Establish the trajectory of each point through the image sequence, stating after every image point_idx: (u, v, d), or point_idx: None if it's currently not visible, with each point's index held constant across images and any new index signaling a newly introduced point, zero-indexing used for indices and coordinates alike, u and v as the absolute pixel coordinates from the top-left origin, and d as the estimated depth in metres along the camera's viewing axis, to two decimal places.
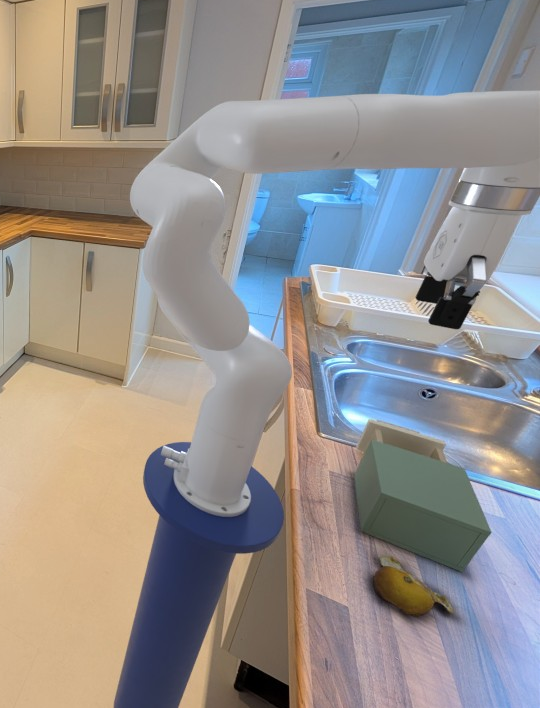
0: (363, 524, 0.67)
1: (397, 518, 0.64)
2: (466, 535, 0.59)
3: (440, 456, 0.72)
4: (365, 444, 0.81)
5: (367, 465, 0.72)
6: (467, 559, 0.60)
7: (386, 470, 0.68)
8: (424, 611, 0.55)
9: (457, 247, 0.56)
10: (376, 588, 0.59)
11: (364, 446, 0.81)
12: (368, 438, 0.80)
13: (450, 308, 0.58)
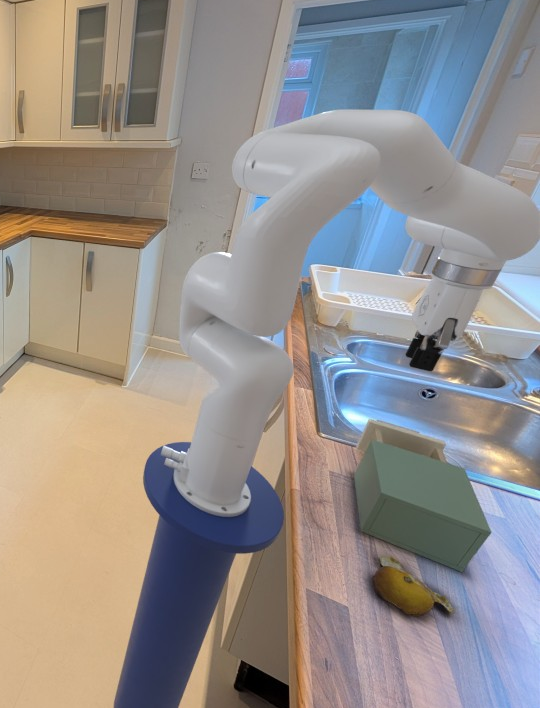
0: (363, 524, 0.67)
1: (397, 518, 0.64)
2: (466, 535, 0.59)
3: (440, 456, 0.72)
4: (365, 444, 0.81)
5: (367, 465, 0.72)
6: (467, 559, 0.60)
7: (386, 470, 0.68)
8: (424, 611, 0.55)
9: (436, 311, 0.72)
10: (376, 588, 0.59)
11: (364, 446, 0.81)
12: (368, 438, 0.80)
13: (425, 356, 0.77)
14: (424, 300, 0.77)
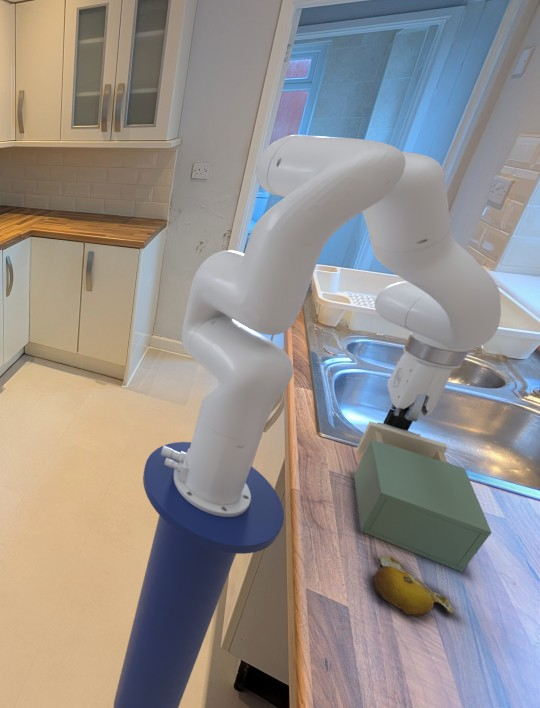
0: (363, 524, 0.67)
1: (397, 518, 0.64)
2: (466, 535, 0.59)
3: (441, 459, 0.71)
4: (365, 447, 0.80)
5: (367, 465, 0.72)
6: (467, 559, 0.60)
7: (386, 470, 0.68)
8: (424, 611, 0.55)
9: (408, 387, 0.75)
10: (376, 588, 0.59)
11: (364, 449, 0.80)
12: (369, 441, 0.79)
13: (397, 421, 0.81)
14: (398, 371, 0.80)
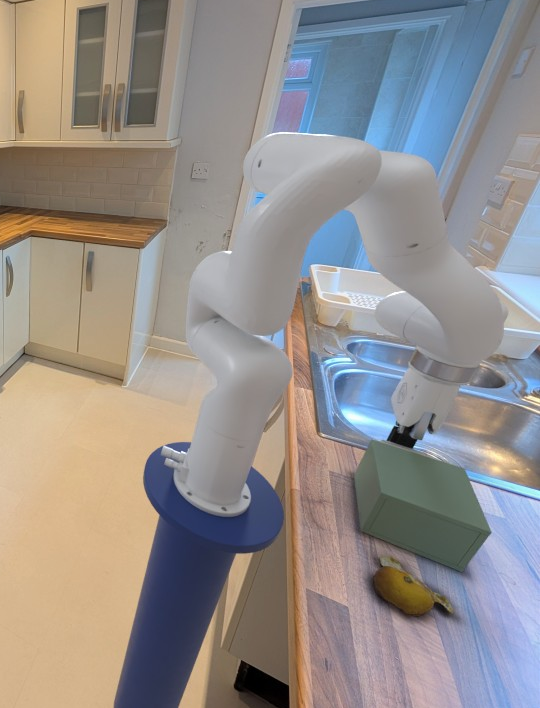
0: (363, 524, 0.67)
1: (397, 518, 0.64)
2: (466, 535, 0.59)
3: None
4: None
5: (367, 465, 0.72)
6: (467, 559, 0.60)
7: (386, 470, 0.68)
8: (424, 611, 0.55)
9: (413, 404, 0.71)
10: (376, 588, 0.59)
11: None
12: None
13: (402, 439, 0.76)
14: (403, 387, 0.76)
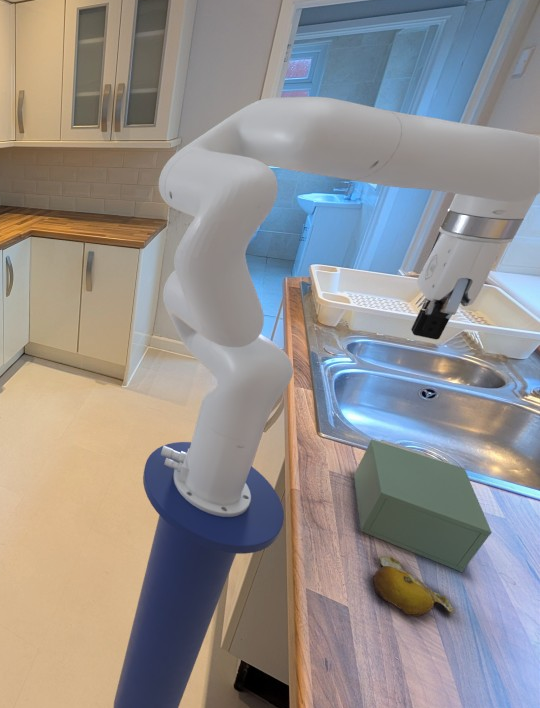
0: (363, 524, 0.67)
1: (397, 518, 0.64)
2: (466, 535, 0.59)
3: None
4: None
5: (367, 465, 0.72)
6: (467, 559, 0.60)
7: (386, 470, 0.68)
8: (424, 611, 0.55)
9: (446, 270, 0.62)
10: (376, 588, 0.59)
11: None
12: None
13: (430, 321, 0.68)
14: (431, 261, 0.67)
